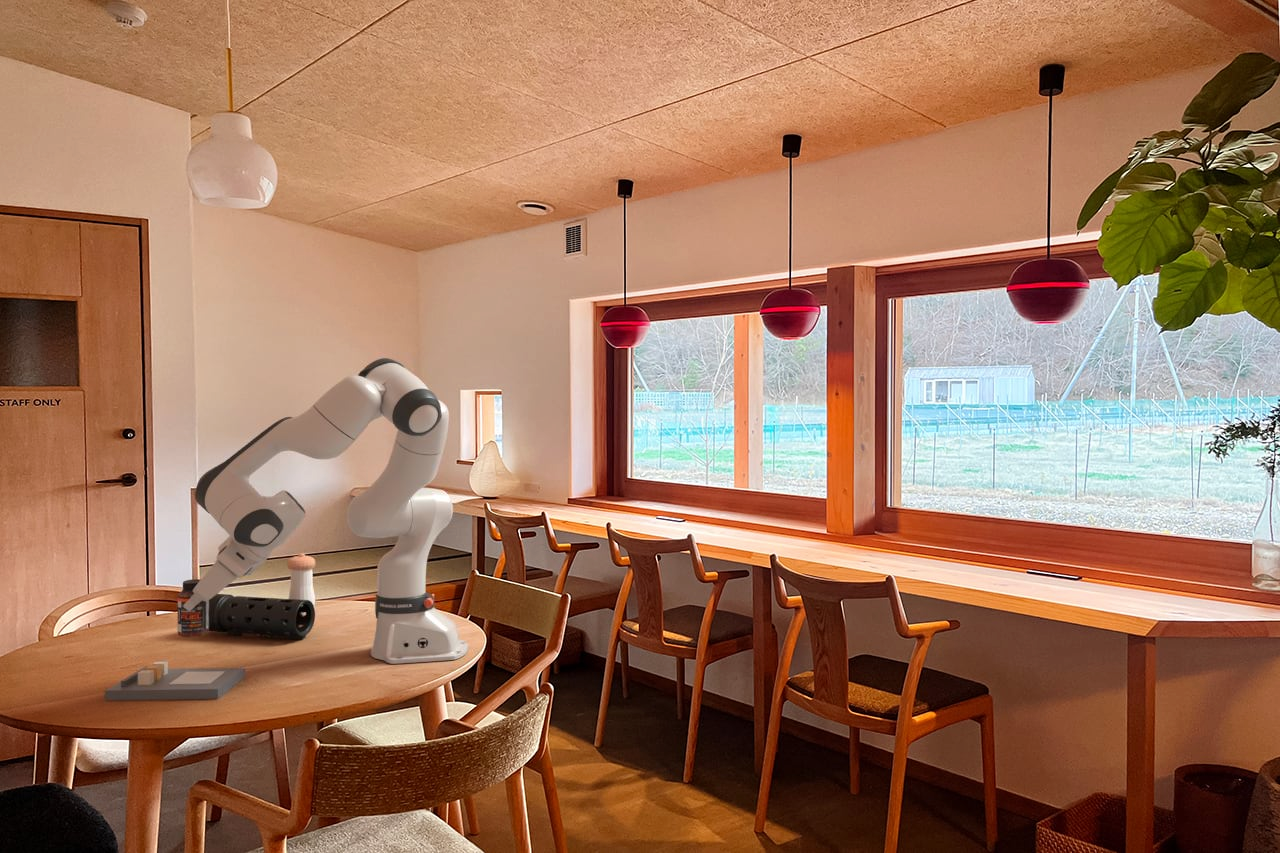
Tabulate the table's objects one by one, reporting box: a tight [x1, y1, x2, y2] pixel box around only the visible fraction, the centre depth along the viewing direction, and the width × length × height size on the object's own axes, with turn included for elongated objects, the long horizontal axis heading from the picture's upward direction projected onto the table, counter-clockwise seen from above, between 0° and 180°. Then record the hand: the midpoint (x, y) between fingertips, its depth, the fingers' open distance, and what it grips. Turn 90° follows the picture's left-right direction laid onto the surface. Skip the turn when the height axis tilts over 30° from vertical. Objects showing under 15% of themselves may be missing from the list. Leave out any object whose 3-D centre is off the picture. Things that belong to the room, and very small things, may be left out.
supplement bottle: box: [177, 578, 210, 638], centre depth 185 cm, size 6×6×11 cm
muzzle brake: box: [209, 593, 316, 640], centre depth 224 cm, size 10×28×10 cm, turn 78°
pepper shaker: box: [287, 553, 317, 627], centre depth 235 cm, size 7×7×19 cm
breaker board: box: [104, 661, 246, 701], centre depth 184 cm, size 22×14×4 cm, turn 93°
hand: (190, 604), depth 185 cm, fingers closed on supplement bottle, 6 cm apart
